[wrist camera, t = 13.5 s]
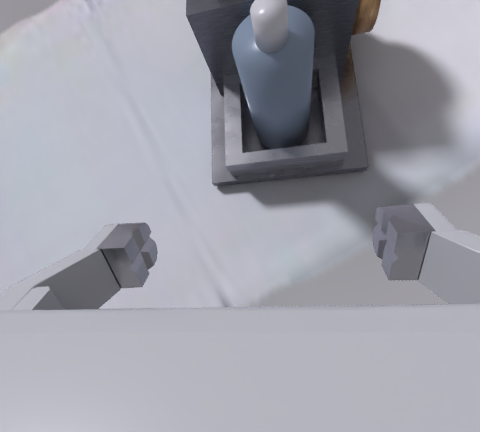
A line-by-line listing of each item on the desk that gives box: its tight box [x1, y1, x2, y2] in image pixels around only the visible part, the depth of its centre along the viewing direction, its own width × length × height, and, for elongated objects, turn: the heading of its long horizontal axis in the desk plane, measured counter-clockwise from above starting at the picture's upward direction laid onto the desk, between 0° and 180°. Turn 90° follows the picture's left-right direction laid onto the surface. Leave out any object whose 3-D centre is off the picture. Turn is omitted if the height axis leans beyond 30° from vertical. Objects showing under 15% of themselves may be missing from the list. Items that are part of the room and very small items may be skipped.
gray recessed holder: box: [186, 0, 381, 186], centre depth 22 cm, size 15×18×12 cm
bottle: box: [232, 0, 315, 149], centre depth 21 cm, size 5×5×12 cm
